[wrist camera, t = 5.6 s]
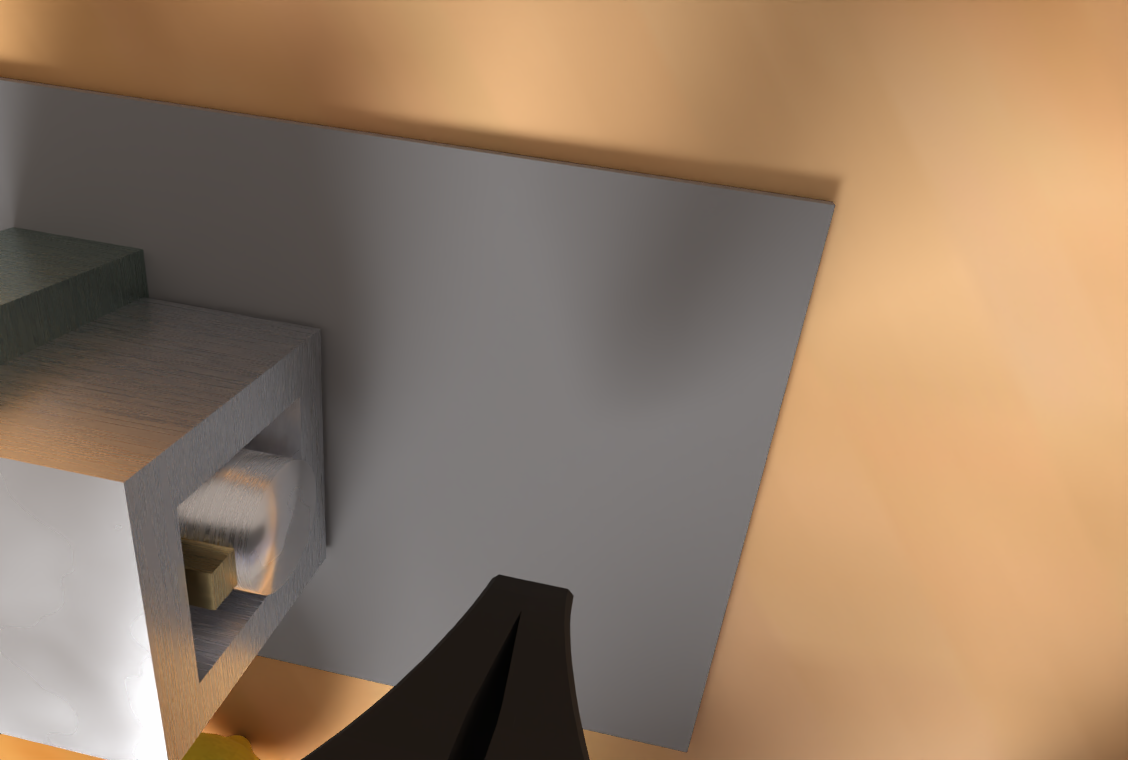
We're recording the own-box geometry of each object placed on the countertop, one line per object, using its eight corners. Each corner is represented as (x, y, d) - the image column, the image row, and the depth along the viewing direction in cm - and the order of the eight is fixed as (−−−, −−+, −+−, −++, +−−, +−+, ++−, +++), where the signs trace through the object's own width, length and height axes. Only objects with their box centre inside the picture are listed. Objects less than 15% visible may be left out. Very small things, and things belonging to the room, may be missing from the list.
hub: (320, 328, 16) (123, 482, 11) (326, 557, 19) (170, 774, 13) (143, 296, 16) (-134, 429, 11) (172, 525, 19) (-40, 723, 14)
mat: (832, 201, 14) (835, 205, 13) (687, 742, 20) (686, 752, 19) (-71, 66, 15) (-85, 67, 15) (50, 599, 22) (42, 606, 21)
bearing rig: (353, 280, 16) (153, 422, 10) (354, 581, 19) (206, 813, 14) (-17, 216, 17) (-394, 315, 11) (48, 515, 20) (-213, 709, 14)
